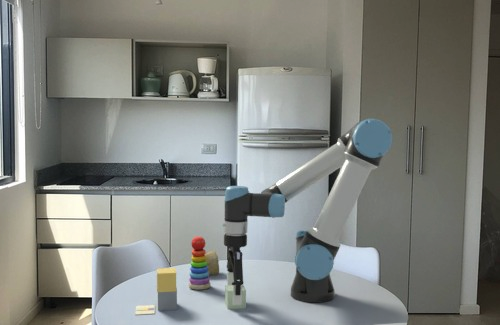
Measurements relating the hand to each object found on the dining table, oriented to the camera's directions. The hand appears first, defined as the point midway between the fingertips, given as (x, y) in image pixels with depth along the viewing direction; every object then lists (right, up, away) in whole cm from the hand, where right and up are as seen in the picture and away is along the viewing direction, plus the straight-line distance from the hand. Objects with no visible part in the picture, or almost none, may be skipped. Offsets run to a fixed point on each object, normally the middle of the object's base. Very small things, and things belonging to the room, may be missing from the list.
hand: (234, 297), depth 173 cm
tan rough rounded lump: (-11, -1, +38) cm, 39 cm away
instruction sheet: (-28, -3, -5) cm, 29 cm away
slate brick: (-22, -3, -2) cm, 22 cm away
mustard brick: (-22, +3, -2) cm, 22 cm away
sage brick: (0, -3, 0) cm, 3 cm away
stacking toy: (-13, -2, +20) cm, 24 cm away
